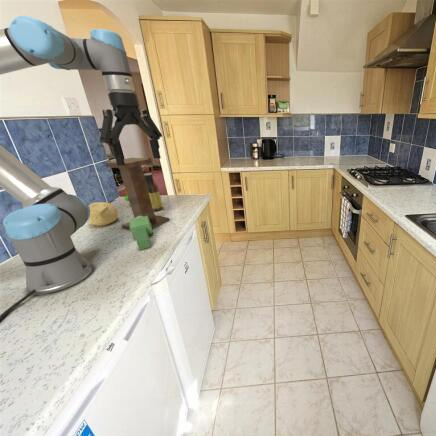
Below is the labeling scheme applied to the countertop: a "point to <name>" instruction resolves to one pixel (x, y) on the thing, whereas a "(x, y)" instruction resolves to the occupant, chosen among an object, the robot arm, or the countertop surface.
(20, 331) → the countertop surface
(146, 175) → the sauce bottle
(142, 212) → the walnut stand
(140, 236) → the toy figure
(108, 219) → the sculpture
